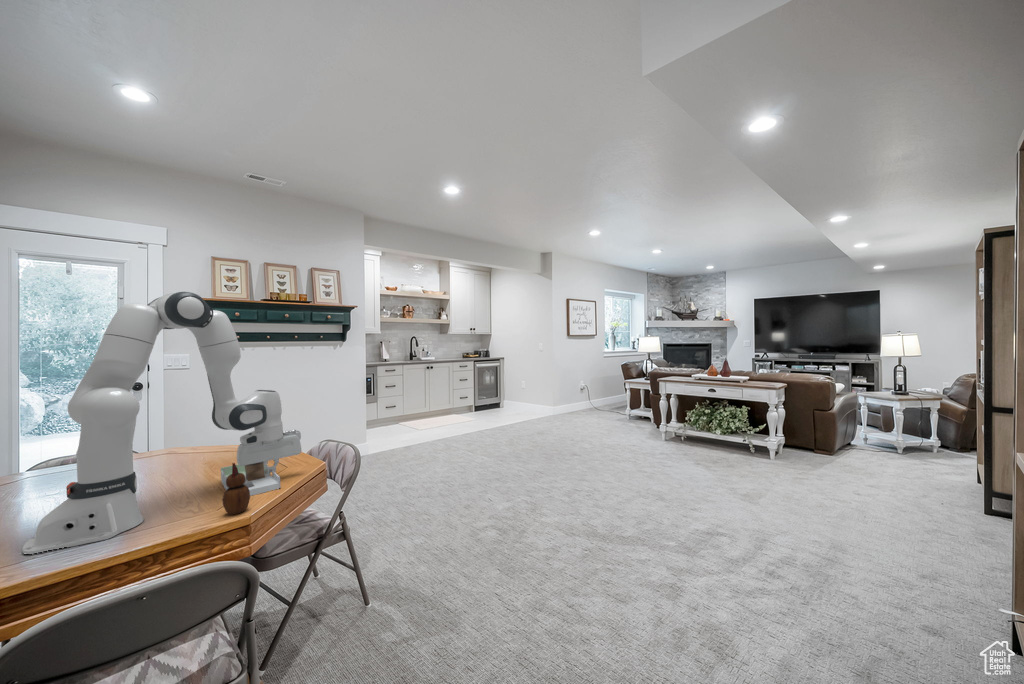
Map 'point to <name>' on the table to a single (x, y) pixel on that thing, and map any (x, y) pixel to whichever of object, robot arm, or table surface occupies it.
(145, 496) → the table surface
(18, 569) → the table surface
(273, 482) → the box
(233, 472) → the wooden figurine
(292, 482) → the table surface
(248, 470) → the walnut block
